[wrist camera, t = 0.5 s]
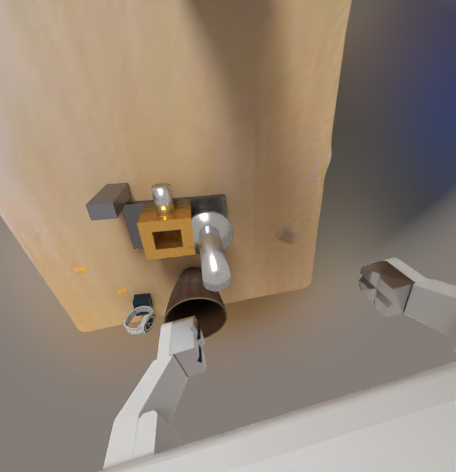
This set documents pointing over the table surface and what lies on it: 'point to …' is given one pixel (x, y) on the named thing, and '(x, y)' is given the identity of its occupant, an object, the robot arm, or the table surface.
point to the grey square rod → (109, 201)
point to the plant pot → (196, 303)
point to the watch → (141, 307)
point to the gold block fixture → (183, 231)
